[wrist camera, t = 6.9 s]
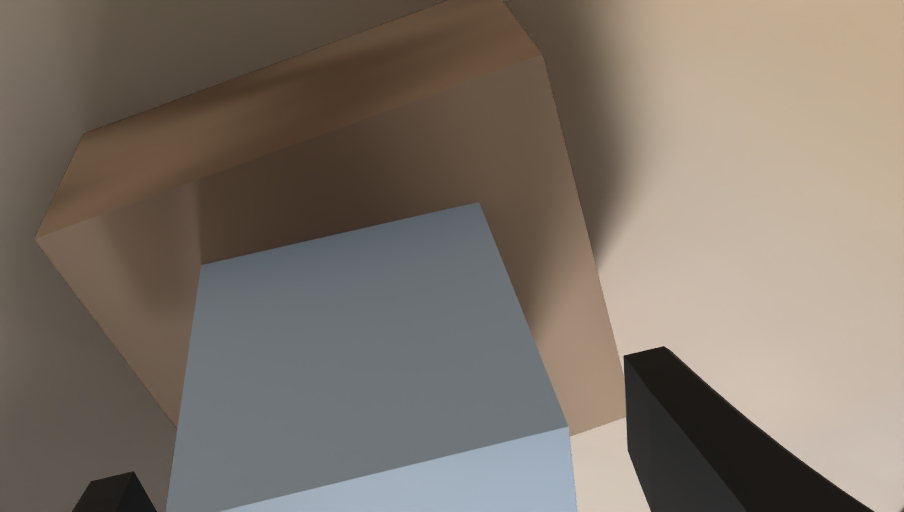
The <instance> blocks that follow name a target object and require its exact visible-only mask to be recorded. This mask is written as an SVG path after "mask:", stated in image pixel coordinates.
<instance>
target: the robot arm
mask: <svg viewBox="0 0 904 512" xmlns="http://www.w3.org/2000/svg"><path fill="white" fill-rule="evenodd" d="M624 376H625V398H626V421H627V443H628V452H629V455H630V458H631V460H632V463H633V466H634V468H635V471H636V474H637V476H638V479H639V482H640V484H641V487H642V489H643V492H644V495H645V497H646V500H647V502H648V505H649V507H650V510H651V512H874V511H873V510H871V509H870V508H868V507H867V506H865V505H864V504H862V503H861V502H859V501H858V500H856V499H855V498H853V497H852V496H850V495H849V494H847V493H846V492H844V491H843V490H841V489H840V488H839V487H837V486H836V485H834V484H833V483H832V482H830V481H829V480H827V479H826V478H825V477H823V476H822V475H820V474H819V473H818V472H816V471H815V470H813V469H812V468H811V467H809V466H808V465H806V464H805V463H804V462H803V461H801V460H800V459H799V458H797V457H796V456H795V455H793V454H792V453H791V452H789V451H788V450H787V449H785V448H784V447H783V446H782V445H780V444H779V443H778V442H777V441H775V440H774V439H773V438H771V437H770V436H769V435H768V434H766V433H765V432H764V431H763V430H761V429H760V428H759V427H758V426H756V425H755V424H754V423H753V422H751V421H750V420H749V419H748V418H747V417H745V416H744V415H743V414H742V413H740V412H739V411H738V410H737V409H736V408H735V407H733V406H732V405H731V404H730V403H729V402H728V401H726V400H725V399H724V398H723V397H722V396H721V395H719V394H718V393H717V392H716V391H715V390H714V389H712V388H711V387H710V386H709V385H708V384H707V383H706V382H705V381H703V380H702V379H701V378H700V377H699V376H698V375H697V374H696V373H695V372H693V371H692V370H691V369H690V368H689V367H688V366H687V365H686V364H685V363H684V362H682V361H681V360H680V359H679V358H678V357H677V356H676V355H675V354H674V353H673V352H672V351H670V350H669V349H667V348H666V347H664V346H663V347H659V348H654V349H650V350H646V351H642V352H637V353H633V354H629V355H625V356H624ZM72 512H157V511H156V509H155V508H154V506H153V504H152V502H151V501H150V499H149V497H148V495H147V494H146V492H145V490H144V488H143V487H142V485H141V483H140V481H139V480H138V478H137V476H136V474H135V473H134V471H133V472H129V473H125V474H121V475H116V476H112V477H108V478H104V479H99V480H95V481H91V483H90V484H89V486H88V487H87V489H86V490H85V492H84V493H83V495H82V496H81V498H80V499H79V501H78V503H77V504H76V506H75V507H74V509H73V511H72Z"/></svg>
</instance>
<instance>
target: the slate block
mask: <svg viewBox="0 0 904 512" xmlns="http://www.w3.org/2000/svg"><path fill="white" fill-rule="evenodd" d="M165 512H578V510H577V501H576V491H575V482H574V473H573V463H572V454H571V445H570V435H569V426H568V424H567V421H566V419H565V416H564V414H563V411H562V409H561V406H560V404H559V401H558V399H557V396H556V394H555V391H554V389H553V386H552V384H551V381H550V379H549V376H548V374H547V371H546V369H545V366H544V364H543V361H542V359H541V356H540V354H539V351H538V349H537V346H536V344H535V341H534V339H533V336H532V334H531V331H530V329H529V326H528V324H527V321H526V319H525V316H524V314H523V311H522V309H521V306H520V304H519V301H518V299H517V296H516V294H515V291H514V289H513V286H512V284H511V281H510V279H509V276H508V274H507V271H506V269H505V266H504V263H503V261H502V258H501V256H500V253H499V251H498V248H497V246H496V243H495V241H494V238H493V236H492V233H491V231H490V228H489V226H488V223H487V221H486V218H485V216H484V213H483V211H482V208H481V206H480V203H479V202H476V203H472V204H467V205H463V206H459V207H454V208H450V209H445V210H441V211H437V212H432V213H428V214H424V215H419V216H415V217H410V218H406V219H402V220H397V221H393V222H388V223H384V224H380V225H375V226H371V227H366V228H362V229H358V230H353V231H349V232H344V233H340V234H336V235H331V236H327V237H322V238H318V239H314V240H309V241H305V242H300V243H296V244H292V245H287V246H283V247H278V248H274V249H270V250H265V251H261V252H256V253H252V254H248V255H243V256H239V257H234V258H230V259H226V260H221V261H217V262H213V263H208V264H204V265H201V269H200V276H199V283H198V290H197V297H196V303H195V310H194V317H193V324H192V331H191V338H190V345H189V352H188V359H187V366H186V373H185V379H184V386H183V393H182V400H181V407H180V414H179V421H178V428H177V435H176V442H175V448H174V455H173V462H172V469H171V476H170V483H169V490H168V497H167V504H166V511H165Z"/></svg>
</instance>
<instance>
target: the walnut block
mask: <svg viewBox="0 0 904 512" xmlns="http://www.w3.org/2000/svg"><path fill="white" fill-rule="evenodd" d="M476 202H479V203H480V206H481V208H482V211H483V213H484V216H485V218H486V221H487V223H488V226H489V228H490V231H491V233H492V236H493V238H494V241H495V243H496V246H497V248H498V251H499V253H500V256H501V258H502V261H503V263H504V266H505V269H506V271H507V274H508V276H509V279H510V281H511V284H512V286H513V289H514V291H515V294H516V296H517V299H518V301H519V304H520V306H521V309H522V311H523V314H524V316H525V319H526V321H527V324H528V326H529V329H530V331H531V334H532V336H533V339H534V341H535V344H536V346H537V349H538V351H539V354H540V356H541V359H542V361H543V364H544V366H545V369H546V371H547V374H548V376H549V379H550V381H551V384H552V386H553V389H554V391H555V394H556V396H557V399H558V401H559V404H560V406H561V409H562V411H563V414H564V416H565V419H566V421H567V424H568V426H569V435H570V436H573V435H576V434H578V433H581V432H584V431H587V430H590V429H593V428H596V427H599V426H601V425H604V424H607V423H610V422H613V421H616V420H619V419H622V418H624V417H626V398H625V379H624V375H623V371H622V367H621V363H620V359H619V355H618V351H617V347H616V343H615V339H614V336H613V332H612V328H611V324H610V320H609V316H608V312H607V308H606V304H605V300H604V296H603V292H602V288H601V284H600V280H599V276H598V272H597V268H596V264H595V260H594V256H593V252H592V248H591V244H590V240H589V236H588V232H587V228H586V224H585V220H584V216H583V212H582V208H581V204H580V200H579V196H578V193H577V189H576V185H575V181H574V177H573V173H572V169H571V165H570V161H569V157H568V153H567V149H566V145H565V141H564V137H563V133H562V129H561V125H560V121H559V117H558V113H557V109H556V105H555V101H554V97H553V93H552V89H551V85H550V81H549V77H548V73H547V69H546V65H545V61H544V57H543V54H542V53H541V51H540V50H539V49H538V47H537V46H536V45H535V43H534V42H533V41H532V39H531V38H530V37H529V35H528V34H527V33H526V31H525V30H524V29H523V27H522V26H521V25H520V23H519V22H518V21H517V19H516V18H515V17H514V15H513V14H512V13H511V11H510V10H509V9H508V7H507V6H506V5H505V3H504V2H503V1H502V0H447V1H444V2H442V3H439V4H436V5H434V6H431V7H428V8H425V9H423V10H420V11H417V12H415V13H412V14H409V15H406V16H404V17H401V18H398V19H395V20H393V21H390V22H387V23H385V24H382V25H379V26H376V27H374V28H371V29H368V30H365V31H363V32H360V33H357V34H355V35H352V36H349V37H346V38H344V39H341V40H338V41H335V42H333V43H330V44H327V45H325V46H322V47H319V48H316V49H314V50H311V51H308V52H306V53H303V54H300V55H297V56H295V57H292V58H289V59H286V60H284V61H281V62H278V63H276V64H273V65H270V66H267V67H265V68H262V69H259V70H256V71H254V72H251V73H248V74H246V75H243V76H240V77H237V78H235V79H232V80H229V81H226V82H224V83H221V84H218V85H216V86H213V87H210V88H207V89H205V90H202V91H199V92H196V93H194V94H191V95H188V96H186V97H183V98H180V99H177V100H175V101H172V102H169V103H167V104H164V105H161V106H158V107H156V108H153V109H150V110H147V111H145V112H142V113H139V114H137V115H134V116H131V117H128V118H126V119H123V120H120V121H117V122H115V123H112V124H109V125H107V126H104V127H101V128H98V129H96V130H93V131H90V132H87V133H85V134H83V136H82V138H81V140H80V142H79V145H78V147H77V149H76V151H75V153H74V155H73V157H72V159H71V161H70V164H69V166H68V168H67V170H66V172H65V174H64V176H63V178H62V181H61V183H60V185H59V187H58V189H57V191H56V193H55V195H54V197H53V200H52V202H51V204H50V206H49V208H48V210H47V212H46V214H45V216H44V219H43V221H42V223H41V225H40V227H39V229H38V231H37V233H36V236H35V238H34V240H35V241H36V243H37V244H38V245H39V247H40V248H41V249H42V251H43V252H44V253H45V255H46V256H47V257H48V259H49V260H50V261H51V263H52V264H53V265H54V267H55V268H56V269H57V271H58V272H59V273H60V275H61V276H62V277H63V279H64V280H65V281H66V283H67V284H68V285H69V287H70V288H71V289H72V290H73V292H74V293H75V294H76V296H77V297H78V298H79V300H80V301H81V302H82V304H83V305H84V306H85V308H86V309H87V310H88V312H89V313H90V314H91V316H92V317H93V318H94V320H95V321H96V322H97V324H98V325H99V326H100V328H101V329H102V330H103V332H104V333H105V334H106V336H107V337H108V338H109V340H110V341H111V342H112V344H113V345H114V346H115V348H116V349H117V350H118V352H119V353H120V354H121V356H122V357H123V358H124V360H125V361H126V362H127V364H128V365H129V366H130V368H131V369H132V370H133V372H134V373H135V374H136V376H137V377H138V378H139V380H140V381H141V382H142V384H143V385H144V386H145V388H146V389H147V390H148V392H149V393H150V394H151V396H152V397H153V398H154V400H155V401H156V402H157V404H158V405H159V406H160V408H161V409H162V410H163V412H164V413H165V414H166V416H167V417H168V418H169V420H170V421H171V422H172V424H173V425H174V426H175V428H176V429H177V428H178V421H179V414H180V407H181V400H182V393H183V386H184V379H185V373H186V366H187V359H188V352H189V345H190V338H191V331H192V324H193V317H194V310H195V303H196V297H197V290H198V283H199V276H200V269H201V265H204V264H208V263H213V262H217V261H221V260H226V259H230V258H234V257H239V256H243V255H248V254H252V253H256V252H261V251H265V250H270V249H274V248H278V247H283V246H287V245H292V244H296V243H300V242H305V241H309V240H314V239H318V238H322V237H327V236H331V235H336V234H340V233H344V232H349V231H353V230H358V229H362V228H366V227H371V226H375V225H380V224H384V223H388V222H393V221H397V220H402V219H406V218H410V217H415V216H419V215H424V214H428V213H432V212H437V211H441V210H445V209H450V208H454V207H459V206H463V205H467V204H472V203H476Z"/></svg>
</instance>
